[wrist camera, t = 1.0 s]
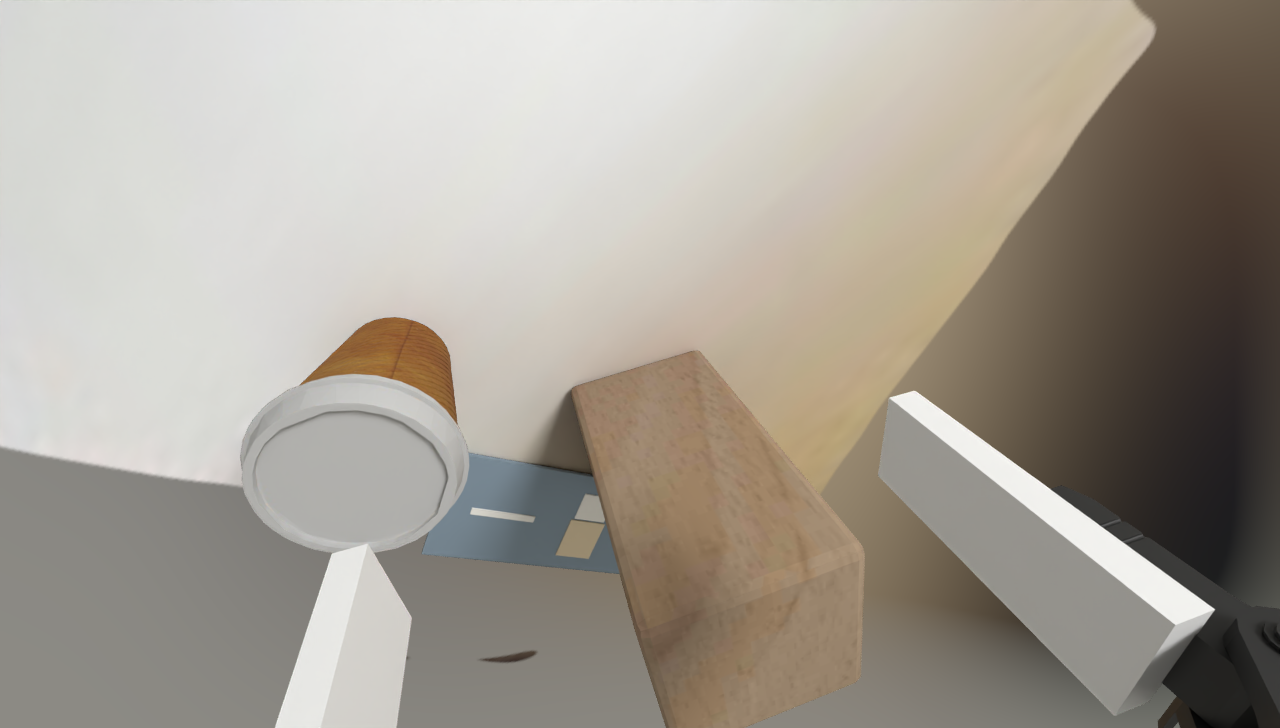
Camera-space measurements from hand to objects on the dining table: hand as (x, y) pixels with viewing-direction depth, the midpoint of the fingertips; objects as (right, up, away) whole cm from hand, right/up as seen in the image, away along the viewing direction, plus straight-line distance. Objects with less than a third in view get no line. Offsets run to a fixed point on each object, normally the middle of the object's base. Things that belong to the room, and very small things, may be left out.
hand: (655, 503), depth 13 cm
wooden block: (0, -1, +27) cm, 27 cm away
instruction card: (-8, -9, +30) cm, 32 cm away
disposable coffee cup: (-16, +4, +21) cm, 26 cm away
